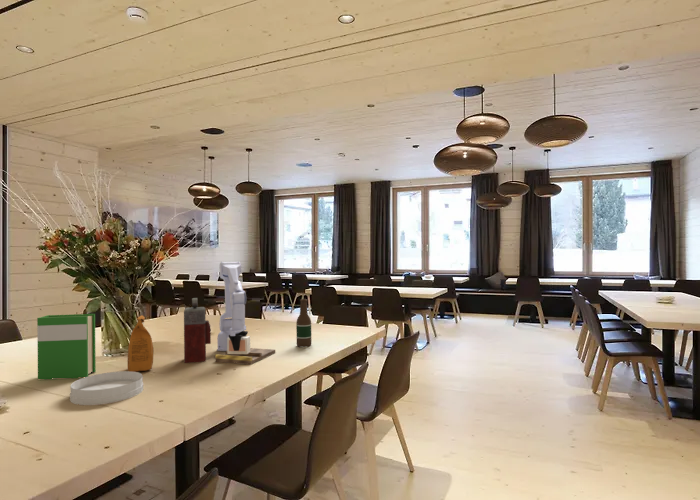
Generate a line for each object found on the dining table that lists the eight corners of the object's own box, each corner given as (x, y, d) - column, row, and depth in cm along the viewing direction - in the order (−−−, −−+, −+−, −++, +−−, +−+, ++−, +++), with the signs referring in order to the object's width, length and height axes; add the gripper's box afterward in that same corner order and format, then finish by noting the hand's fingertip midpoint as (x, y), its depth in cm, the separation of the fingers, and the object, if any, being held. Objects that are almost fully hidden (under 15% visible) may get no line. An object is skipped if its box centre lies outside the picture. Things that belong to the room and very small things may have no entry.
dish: (127, 380, 162) (127, 367, 162) (155, 392, 148) (154, 378, 148) (60, 396, 145) (59, 382, 145) (84, 411, 131) (83, 395, 131)
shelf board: (215, 361, 188) (215, 354, 188) (242, 350, 209) (242, 344, 209) (251, 364, 183) (251, 357, 183) (275, 352, 204) (275, 346, 204)
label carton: (227, 354, 188) (226, 338, 188) (230, 351, 193) (230, 336, 193) (247, 354, 187) (246, 338, 187) (250, 351, 192) (250, 336, 192)
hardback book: (95, 372, 173) (95, 313, 174) (87, 377, 166) (86, 316, 166) (48, 374, 171) (48, 315, 171) (37, 380, 164) (37, 318, 164)
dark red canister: (211, 360, 190) (210, 298, 190) (184, 363, 186) (183, 299, 186) (211, 356, 198) (210, 296, 198) (185, 358, 195) (184, 297, 195)
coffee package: (154, 364, 185) (154, 314, 185) (153, 371, 173) (152, 318, 173) (129, 367, 181) (128, 315, 181) (125, 374, 170) (125, 319, 170)
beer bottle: (293, 346, 217) (292, 299, 217) (302, 343, 224) (301, 298, 224) (306, 347, 213) (305, 300, 213) (314, 344, 220) (314, 298, 220)
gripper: (235, 316, 197) (235, 345, 197) (223, 321, 183) (223, 352, 183) (250, 316, 197) (250, 345, 197) (239, 321, 182) (239, 353, 182)
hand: (238, 349), depth 190 cm, fingers closed on label carton, 5 cm apart
